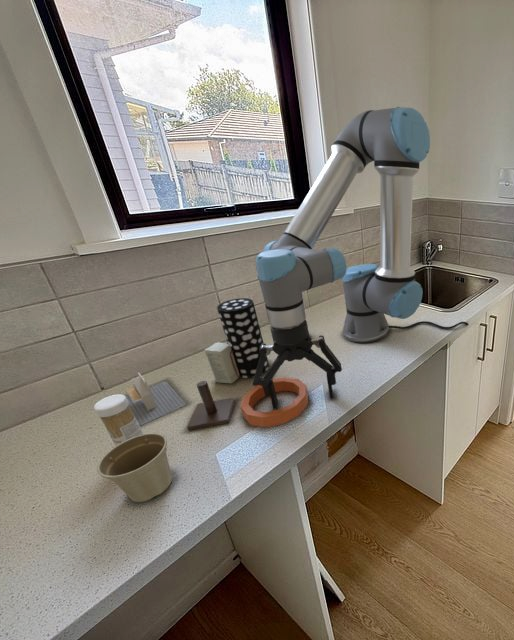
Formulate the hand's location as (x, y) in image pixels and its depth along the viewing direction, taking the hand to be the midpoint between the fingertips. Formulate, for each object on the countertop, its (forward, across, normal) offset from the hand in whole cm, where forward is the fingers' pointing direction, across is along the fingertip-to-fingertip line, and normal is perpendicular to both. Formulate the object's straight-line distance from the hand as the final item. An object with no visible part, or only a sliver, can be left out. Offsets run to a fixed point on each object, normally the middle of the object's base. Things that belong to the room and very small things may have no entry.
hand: (304, 400), depth 82 cm
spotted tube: (0, +14, -18) cm, 23 cm away
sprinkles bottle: (0, +32, +7) cm, 33 cm away
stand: (0, +20, -1) cm, 20 cm away
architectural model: (0, +36, -10) cm, 38 cm away
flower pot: (0, +26, +17) cm, 31 cm away
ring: (0, +6, 0) cm, 6 cm away
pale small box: (0, +20, -16) cm, 25 cm away
